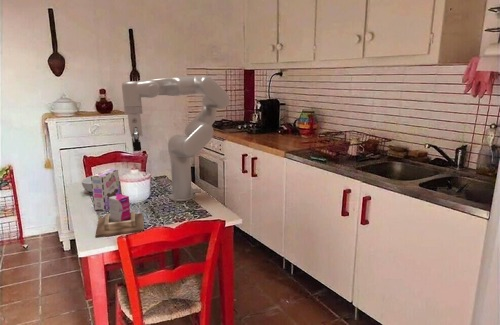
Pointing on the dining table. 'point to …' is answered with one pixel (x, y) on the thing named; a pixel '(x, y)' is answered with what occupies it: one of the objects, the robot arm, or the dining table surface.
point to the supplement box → (119, 208)
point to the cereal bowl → (87, 184)
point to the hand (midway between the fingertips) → (137, 148)
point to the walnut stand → (119, 225)
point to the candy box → (104, 188)
